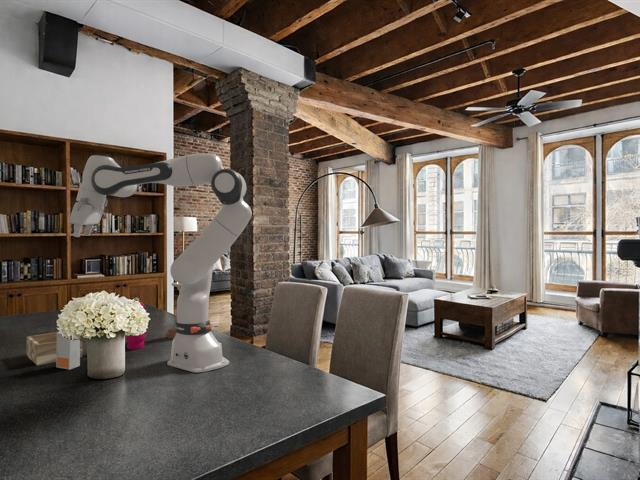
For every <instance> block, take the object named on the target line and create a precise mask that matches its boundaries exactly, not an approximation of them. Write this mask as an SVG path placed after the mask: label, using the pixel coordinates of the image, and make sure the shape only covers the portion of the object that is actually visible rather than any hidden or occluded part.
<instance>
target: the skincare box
mask: <svg viewBox="0 0 640 480" xmlns="http://www.w3.org/2000/svg"><path fill="white" fill-rule="evenodd" d="M57 332H58V333H57V345H56V362H55V364H56V365H55V367H56V368H58V369H59V368H60V369H65V370H68V371H69V370H73V369H75V368H77V367H80V366H81V357H80V340H74V341H73V340H69V339H66V338H64V337H62V335H61V333H60V332H61V331H57Z"/></svg>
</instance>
